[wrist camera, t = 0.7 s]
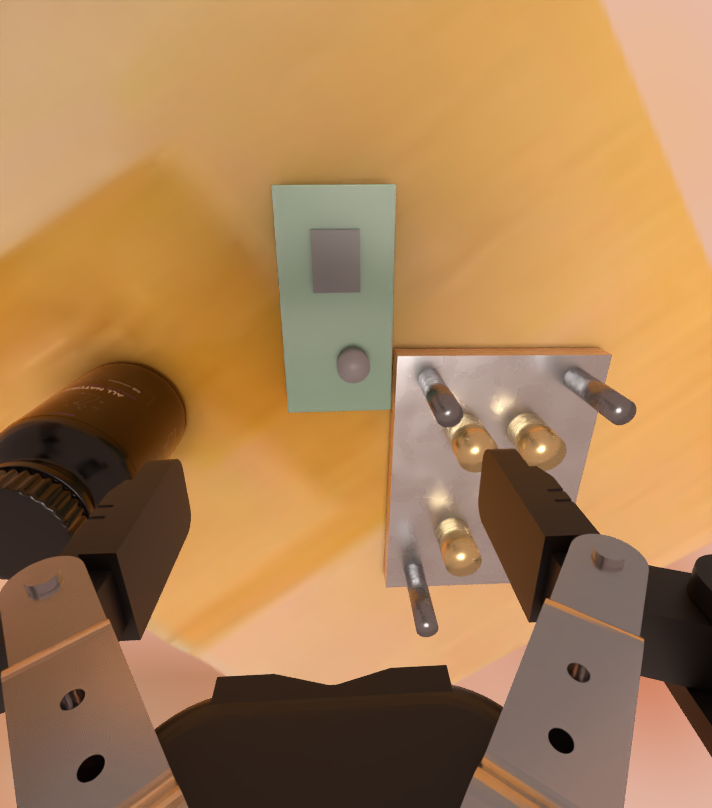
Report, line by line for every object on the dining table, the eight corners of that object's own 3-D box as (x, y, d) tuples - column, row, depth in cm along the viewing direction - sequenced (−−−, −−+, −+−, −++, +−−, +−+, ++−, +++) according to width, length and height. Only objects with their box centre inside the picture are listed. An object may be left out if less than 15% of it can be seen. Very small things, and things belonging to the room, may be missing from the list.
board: (277, 187, 25) (268, 184, 21) (388, 186, 25) (398, 183, 21) (292, 392, 29) (286, 419, 26) (384, 390, 30) (392, 416, 26)
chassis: (394, 348, 28) (411, 387, 22) (598, 347, 29) (668, 385, 23) (383, 572, 35) (394, 647, 29) (547, 567, 36) (590, 638, 30)
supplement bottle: (139, 339, 27) (11, 432, 16) (209, 427, 30) (139, 559, 19) (50, 393, 28) (-128, 515, 17) (125, 474, 31) (12, 625, 20)
